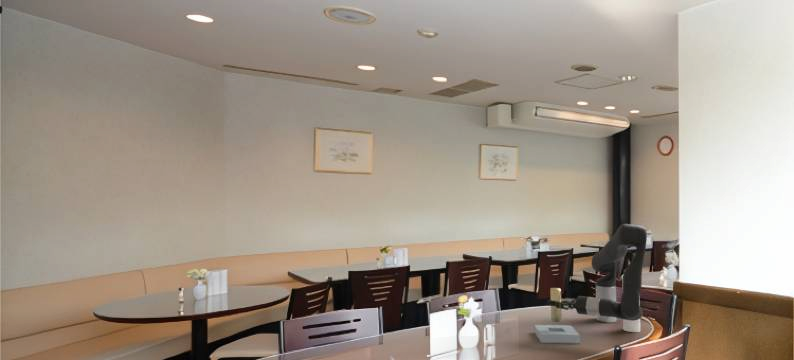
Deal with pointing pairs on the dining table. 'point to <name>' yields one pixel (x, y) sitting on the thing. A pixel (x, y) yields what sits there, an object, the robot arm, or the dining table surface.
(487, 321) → the dining table surface
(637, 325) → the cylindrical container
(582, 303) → the robot arm
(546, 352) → the dining table surface
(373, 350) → the dining table surface
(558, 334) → the jig
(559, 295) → the yellow tall cylinder
